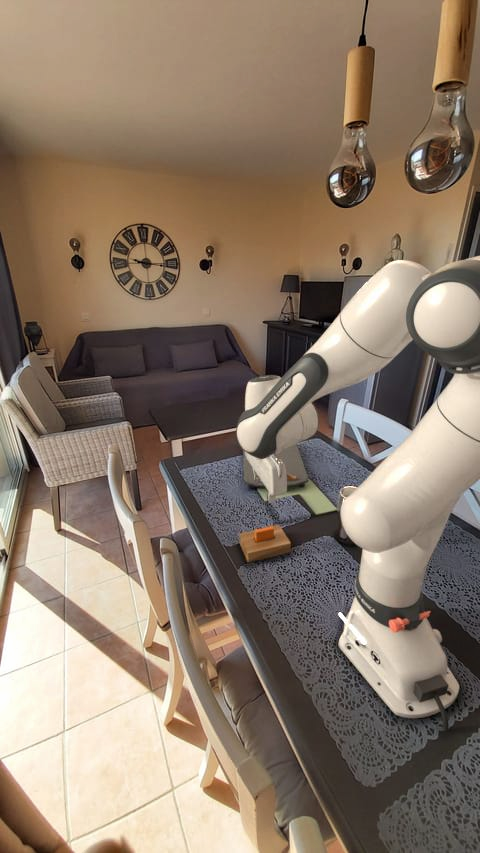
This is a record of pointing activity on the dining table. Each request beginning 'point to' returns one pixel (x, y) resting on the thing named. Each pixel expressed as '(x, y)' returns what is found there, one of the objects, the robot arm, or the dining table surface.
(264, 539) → the block
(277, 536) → the token holder
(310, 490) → the mat
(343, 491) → the beer glass
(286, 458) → the serving tray
